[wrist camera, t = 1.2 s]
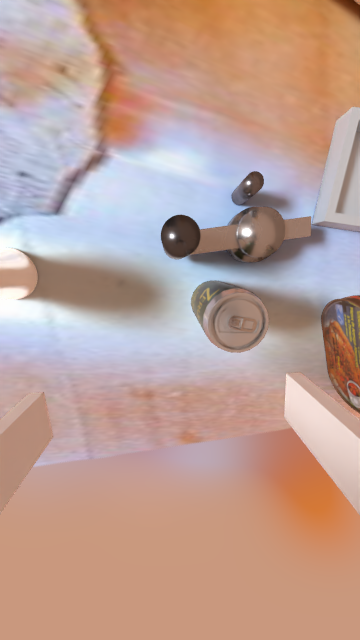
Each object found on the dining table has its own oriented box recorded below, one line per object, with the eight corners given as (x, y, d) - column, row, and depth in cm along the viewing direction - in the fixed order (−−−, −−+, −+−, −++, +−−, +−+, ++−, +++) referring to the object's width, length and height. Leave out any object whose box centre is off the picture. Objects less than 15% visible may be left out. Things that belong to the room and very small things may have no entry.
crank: (304, 204, 26) (370, 174, 17) (304, 250, 27) (366, 244, 18) (160, 223, 25) (155, 203, 17) (166, 270, 26) (166, 272, 18)
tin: (317, 295, 31) (372, 306, 22) (340, 289, 31) (403, 297, 22) (329, 393, 34) (381, 434, 26) (350, 387, 34) (408, 426, 26)
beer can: (236, 284, 30) (280, 296, 18) (226, 324, 31) (261, 360, 19) (195, 276, 29) (213, 283, 17) (186, 317, 30) (198, 349, 19)
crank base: (232, 187, 27) (246, 169, 22) (281, 195, 27) (305, 179, 23) (207, 339, 31) (214, 353, 26) (250, 344, 32) (265, 358, 27)
